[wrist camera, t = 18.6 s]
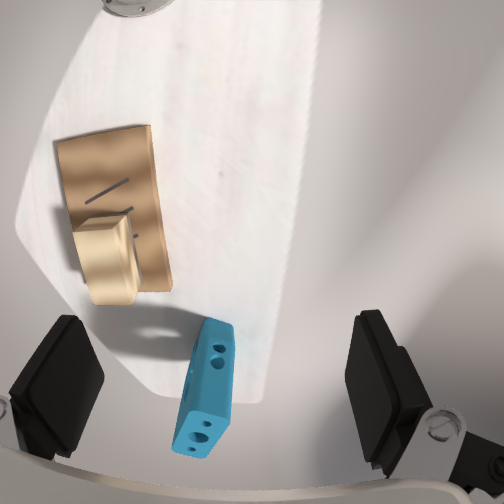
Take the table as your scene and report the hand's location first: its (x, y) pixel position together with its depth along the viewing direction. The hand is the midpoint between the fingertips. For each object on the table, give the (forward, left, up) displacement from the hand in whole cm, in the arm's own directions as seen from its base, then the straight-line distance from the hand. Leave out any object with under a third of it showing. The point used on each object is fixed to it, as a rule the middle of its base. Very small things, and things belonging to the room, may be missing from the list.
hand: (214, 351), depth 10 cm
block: (+29, -7, -34) cm, 46 cm away
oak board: (+6, -19, -34) cm, 40 cm away
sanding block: (+11, -19, -32) cm, 39 cm away
